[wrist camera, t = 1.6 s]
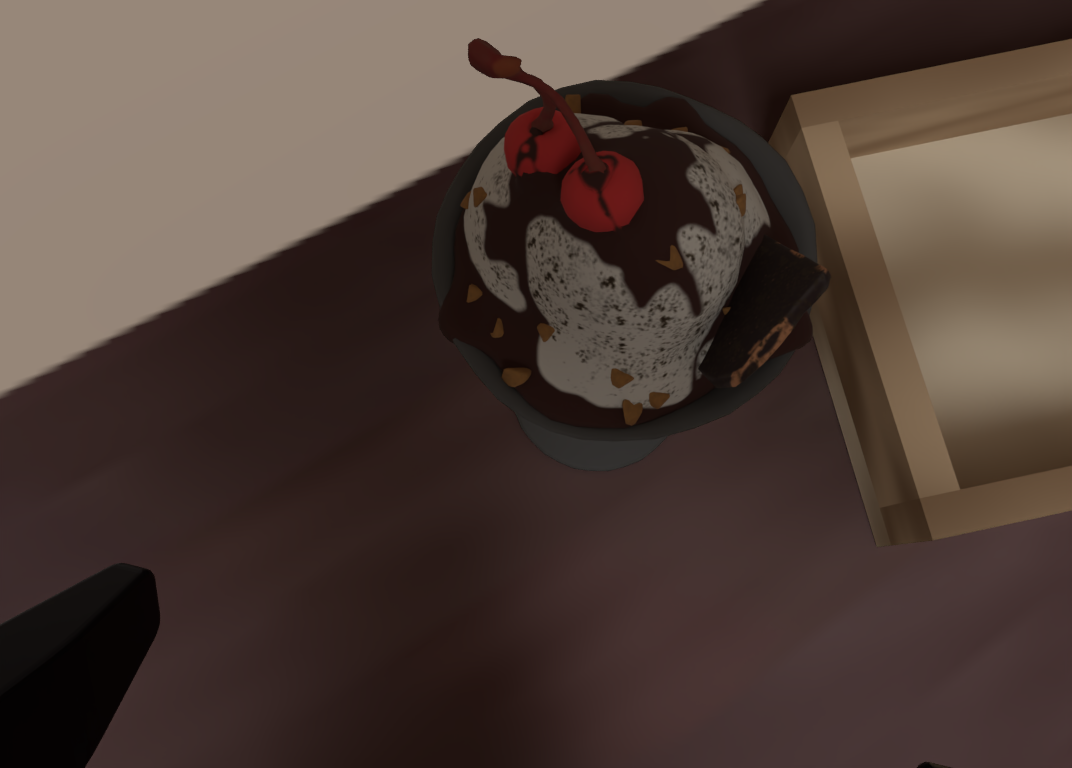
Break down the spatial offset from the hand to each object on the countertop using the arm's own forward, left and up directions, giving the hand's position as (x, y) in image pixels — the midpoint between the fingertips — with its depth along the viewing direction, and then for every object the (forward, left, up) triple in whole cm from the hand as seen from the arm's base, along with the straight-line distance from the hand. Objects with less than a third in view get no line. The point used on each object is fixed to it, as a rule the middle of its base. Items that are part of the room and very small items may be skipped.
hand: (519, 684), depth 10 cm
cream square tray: (+8, -15, -13) cm, 21 cm away
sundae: (+7, -2, -14) cm, 15 cm away
